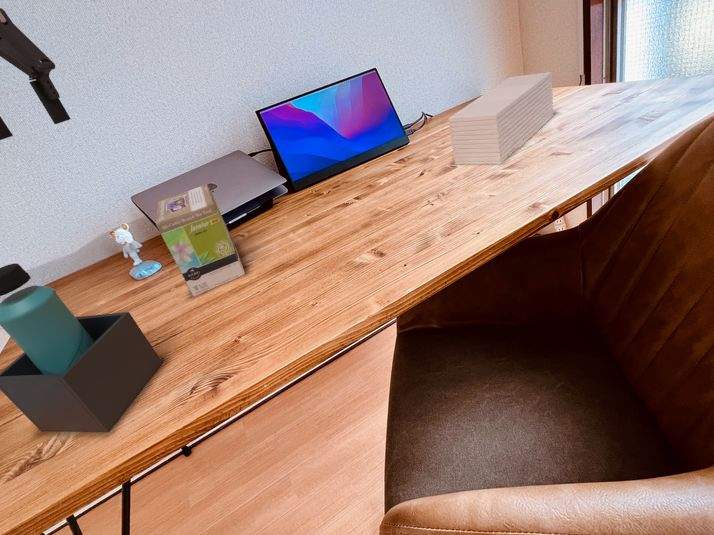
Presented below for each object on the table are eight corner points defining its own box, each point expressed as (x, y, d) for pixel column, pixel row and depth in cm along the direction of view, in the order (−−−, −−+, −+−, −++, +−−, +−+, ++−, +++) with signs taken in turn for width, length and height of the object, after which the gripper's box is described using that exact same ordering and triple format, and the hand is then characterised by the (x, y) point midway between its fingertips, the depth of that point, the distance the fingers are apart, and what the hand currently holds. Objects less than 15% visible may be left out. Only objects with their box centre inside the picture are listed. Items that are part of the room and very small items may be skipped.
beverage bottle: (128, 394, 55) (30, 265, 45) (74, 425, 52) (-43, 296, 42) (123, 369, 60) (33, 248, 50) (73, 396, 57) (-31, 275, 47)
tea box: (248, 276, 76) (213, 201, 69) (194, 299, 74) (152, 225, 67) (236, 247, 89) (206, 181, 81) (190, 266, 87) (154, 200, 79)
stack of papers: (511, 119, 114) (508, 77, 109) (553, 116, 108) (552, 71, 102) (455, 166, 96) (448, 118, 90) (500, 166, 89) (496, 114, 84)
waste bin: (43, 434, 54) (-10, 380, 49) (104, 369, 63) (64, 317, 58) (111, 435, 50) (62, 377, 45) (165, 366, 59) (128, 311, 54)
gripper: (23, -45, 60) (105, 108, 70) (-88, 7, 67) (1, 138, 78) (-27, -48, 54) (71, 120, 64) (-143, 10, 61) (-38, 151, 72)
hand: (33, 130), depth 71 cm, fingers open, 13 cm apart
